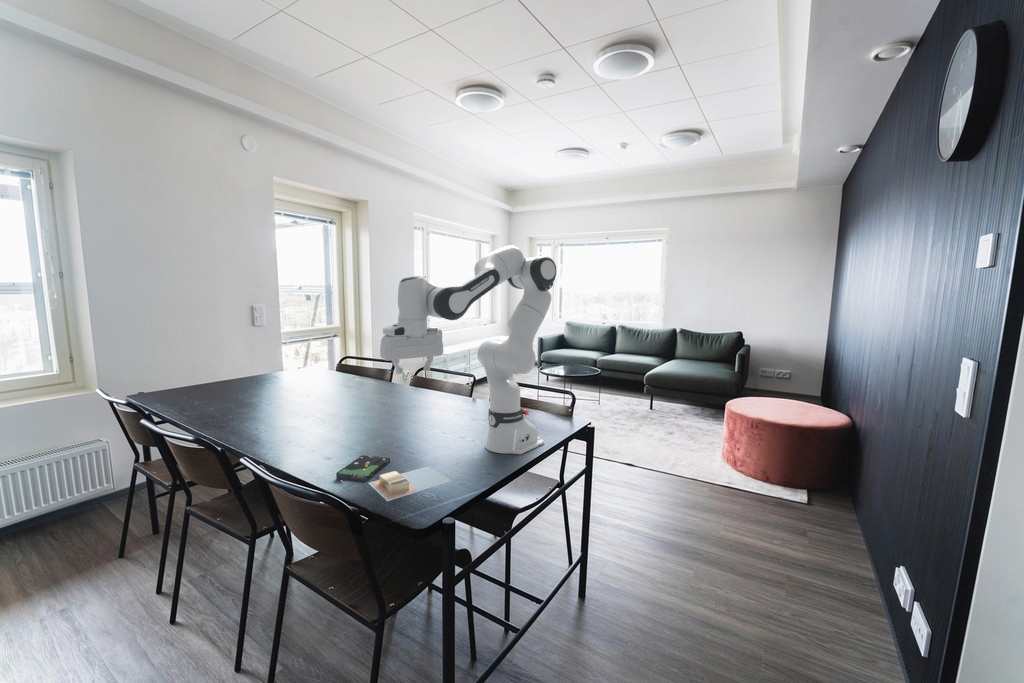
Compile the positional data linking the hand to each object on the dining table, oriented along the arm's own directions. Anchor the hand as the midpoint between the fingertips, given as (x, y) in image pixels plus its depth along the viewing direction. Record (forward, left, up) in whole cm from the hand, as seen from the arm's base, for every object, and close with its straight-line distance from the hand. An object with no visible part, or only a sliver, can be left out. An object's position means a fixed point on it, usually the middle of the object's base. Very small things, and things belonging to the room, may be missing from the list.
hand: (413, 371), depth 135 cm
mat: (+7, +11, -31) cm, 34 cm away
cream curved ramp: (+12, +11, -30) cm, 34 cm away
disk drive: (+14, -6, -32) cm, 35 cm away
